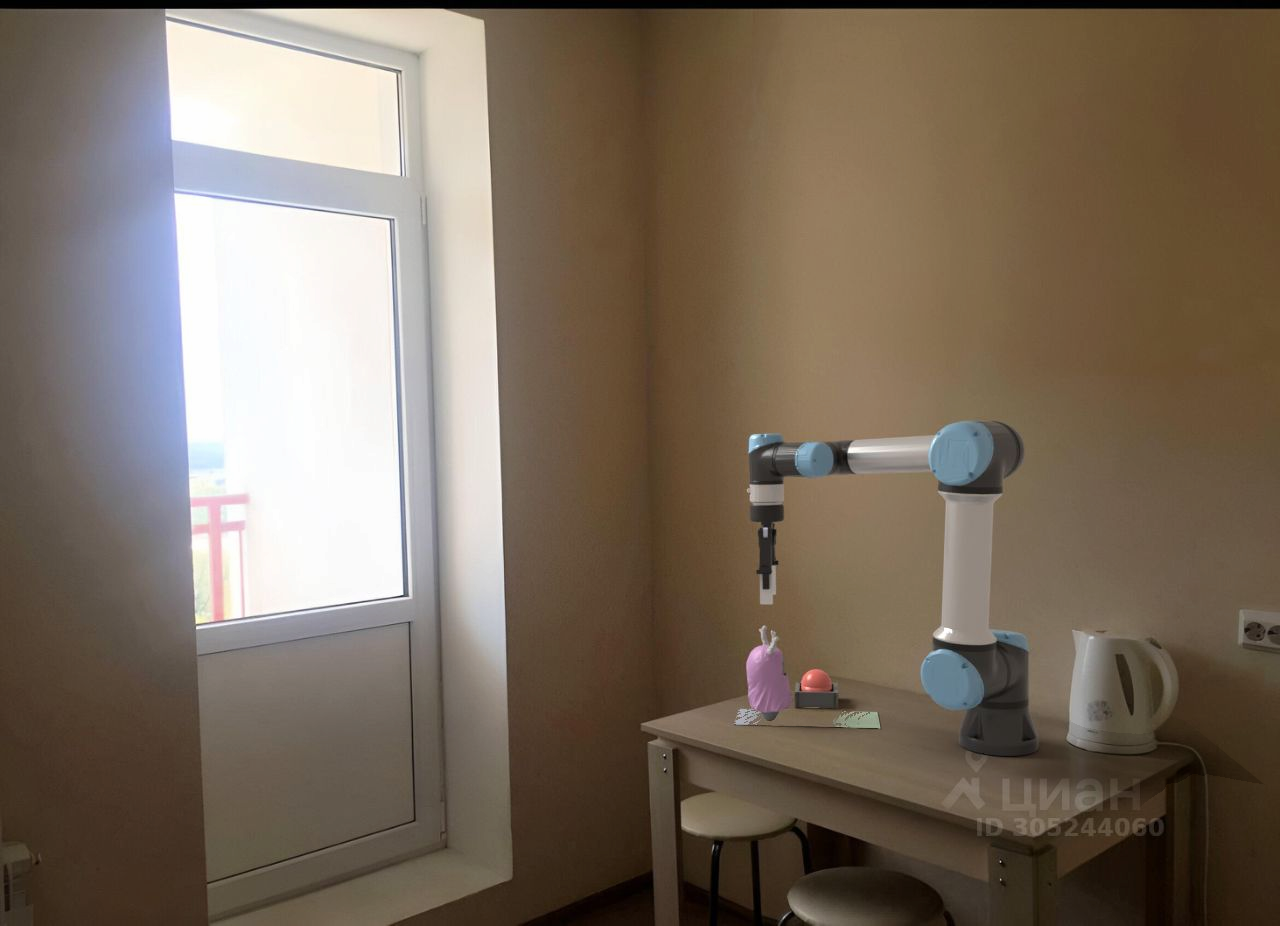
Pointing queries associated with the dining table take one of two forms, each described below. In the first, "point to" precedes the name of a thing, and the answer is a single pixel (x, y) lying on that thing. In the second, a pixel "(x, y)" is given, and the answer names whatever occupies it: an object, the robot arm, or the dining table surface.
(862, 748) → the dining table surface
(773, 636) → the toy character
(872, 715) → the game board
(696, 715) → the dining table surface
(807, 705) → the dome housing
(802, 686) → the dome button
